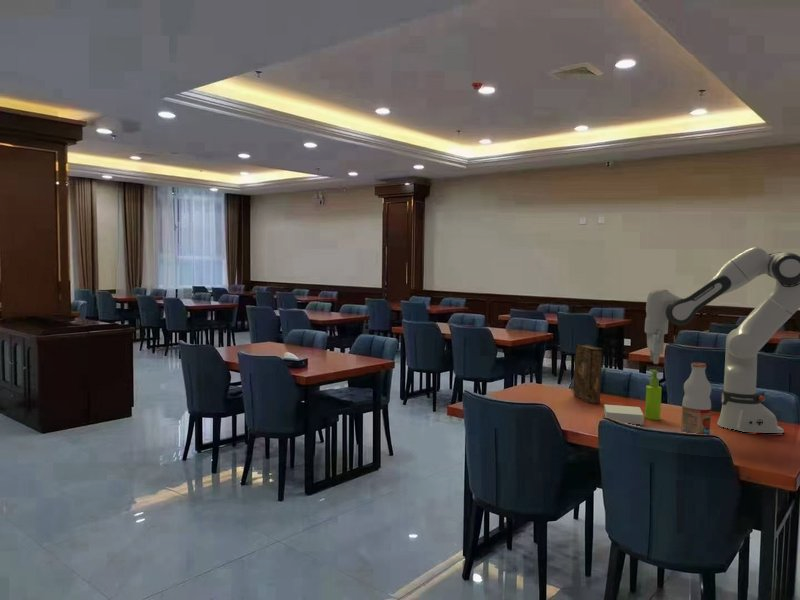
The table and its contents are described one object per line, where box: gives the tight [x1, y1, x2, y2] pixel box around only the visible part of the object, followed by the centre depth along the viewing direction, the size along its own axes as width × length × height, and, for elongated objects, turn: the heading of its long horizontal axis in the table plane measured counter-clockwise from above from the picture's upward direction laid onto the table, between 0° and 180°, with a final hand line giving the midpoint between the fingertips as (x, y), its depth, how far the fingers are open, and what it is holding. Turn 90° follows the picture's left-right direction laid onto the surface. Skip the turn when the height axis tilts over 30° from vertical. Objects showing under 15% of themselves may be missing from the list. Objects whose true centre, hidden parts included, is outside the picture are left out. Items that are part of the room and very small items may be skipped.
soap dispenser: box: [644, 369, 663, 421], centre depth 247 cm, size 6×7×20 cm
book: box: [573, 344, 603, 404], centre depth 278 cm, size 16×6×25 cm, turn 10°
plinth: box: [603, 403, 645, 426], centre depth 244 cm, size 14×14×4 cm
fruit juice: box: [680, 361, 712, 435], centre depth 217 cm, size 9×9×28 cm
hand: (654, 361), depth 246 cm, fingers open, 8 cm apart
